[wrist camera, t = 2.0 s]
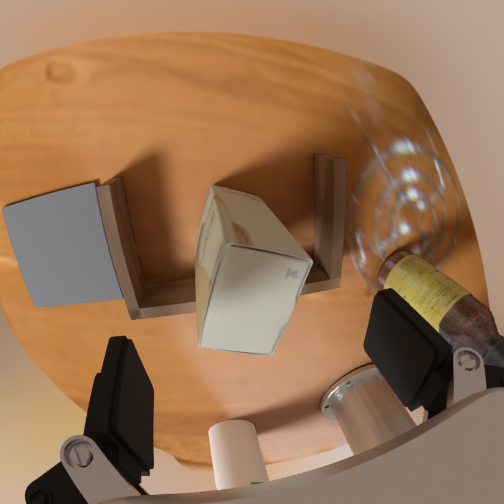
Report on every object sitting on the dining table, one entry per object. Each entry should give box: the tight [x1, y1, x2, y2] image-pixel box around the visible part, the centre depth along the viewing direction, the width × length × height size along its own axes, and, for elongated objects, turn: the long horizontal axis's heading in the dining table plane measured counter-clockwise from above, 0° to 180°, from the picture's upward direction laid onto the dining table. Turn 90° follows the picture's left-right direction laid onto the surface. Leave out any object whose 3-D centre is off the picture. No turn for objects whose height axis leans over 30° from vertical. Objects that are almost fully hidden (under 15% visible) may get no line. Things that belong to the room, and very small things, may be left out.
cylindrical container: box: [209, 419, 269, 490], centre depth 26 cm, size 7×7×25 cm
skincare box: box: [195, 185, 313, 356], centre depth 19 cm, size 6×4×12 cm
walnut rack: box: [96, 154, 346, 320], centre depth 22 cm, size 18×11×4 cm, turn 94°
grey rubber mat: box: [2, 182, 123, 308], centre depth 22 cm, size 11×11×1 cm
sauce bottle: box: [377, 251, 504, 368], centre depth 21 cm, size 7×6×20 cm
